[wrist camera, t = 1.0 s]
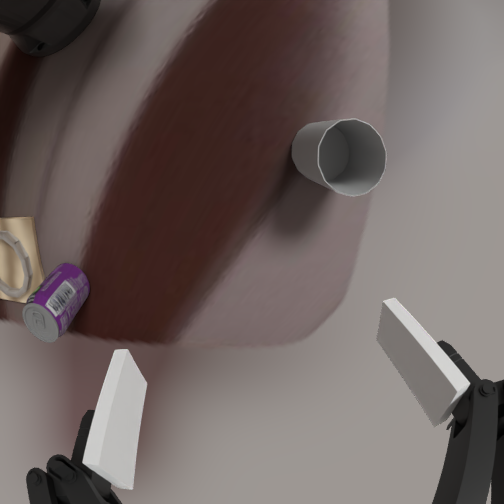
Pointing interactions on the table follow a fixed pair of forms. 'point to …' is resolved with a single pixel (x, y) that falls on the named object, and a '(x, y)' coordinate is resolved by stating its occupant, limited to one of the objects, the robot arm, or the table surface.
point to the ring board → (19, 259)
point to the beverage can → (56, 302)
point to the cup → (341, 155)
